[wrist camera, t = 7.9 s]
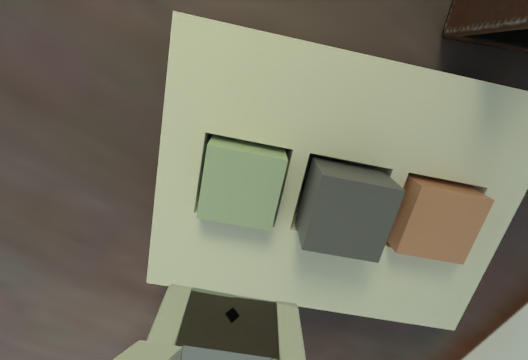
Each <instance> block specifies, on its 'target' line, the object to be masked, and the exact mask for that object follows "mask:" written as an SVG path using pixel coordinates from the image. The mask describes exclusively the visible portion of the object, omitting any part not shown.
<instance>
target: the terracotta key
mask: <svg viewBox="0 0 528 360" xmlns="http://www.w3.org/2000/svg"><path fill="white" fill-rule="evenodd" d="M403 189H404V190H405V191H406V192H405V195H404V197H403V200H402V202H401V205H400V208H399V210H398V213H397V216H396V218H395V221H394V223H393V226H392V229H391V231H390V234H389V237H388V239H387V241H388V243H389V244H390V246H391V247H392V248H393V250H394V251H395V252H396V253H399V254H405V255H411V256H416V257H422V258H428V259H434V260H439V261H445V262H451V263H457V264H462V265H463V264H464V262H465V260H466V258H467V256H468V254H469V252H470V250H471V248H472V246H473V244H474V242H475V240H476V238H477V236H478V234H479V232H480V229H481V227H482V225H483V223H484V221H485V219H486V217H487V215H488V213H489V211H490V209H491V207H492V205H493V203H494V201H495V200H493V199H492V198H490V197H488V196H486V195H485V194H483V193H481V192H480V191H478V190H476V189H475V188H473V187H471V186H469V185H468V184H465V183H460V182H455V181H450V180H445V179H439V178H434V177H429V176H424V175H419V174H414V173H409V174H408V176H407V179H406V182H405V184H404V187H403Z"/></svg>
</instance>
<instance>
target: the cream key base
mask: <svg viewBox="0 0 528 360" xmlns="http://www.w3.org/2000/svg"><path fill="white" fill-rule="evenodd" d="M213 134H216V135H221V136H226V137H231V138H236V139H241V140H246V141H251V142H256V143H261V144H266V145H272V146H277V147H282V148H285V151H286V155H287V158H288V163H287V167H286V172H285V176H284V180H283V184H282V188H281V192H280V197H279V201H278V205H277V209H276V213H275V218H274V222H273V226H272V230H271V231H267V230H261V229H255V228H250V227H244V226H238V225H232V224H227V223H221V222H215V221H209V220H204V219H198V218H196V216H197V209H198V202H199V196H200V189H201V182H202V175H203V169H204V162H205V155H206V149H207V144H208V142H209V141H210V139H211V138H212V136H213ZM312 157H315V158H321V159H326V160H331V161H336V162H341V163H346V164H351V165H356V166H361V167H367V168H372V169H377V170H382V171H384V172H385V173H386V174H387V175H388V176H389V177H390V178H392V179H393V180H394V181H395V182H396V183H397V184H398V185H400V186H401V187H402V188H403V187H404V184H405V182H406V179H407V176H408V174H409V173H414V174H419V175H424V176H429V177H434V178H439V179H445V180H450V181H455V182H460V183H465V184H468V185H469V186H471V187H473V188H475V189H476V190H478V191H480V192H481V193H483V194H485V195H486V196H488V197H490V198H492V199H493V200H495V201H494V203H493V205H492V207H491V209H490V211H489V213H488V215H487V217H486V219H485V221H484V223H483V225H482V227H481V229H480V232H479V234H478V236H477V238H476V240H475V242H474V244H473V246H472V248H471V250H470V252H469V254H468V256H467V258H466V260H465V262H464V264H463V265H462V264H457V263H451V262H445V261H439V260H434V259H428V258H422V257H416V256H411V255H405V254H399V253H396V252H395V251H394V250H393V248H392V247H391V246H390V244H389V243H388V241H387V242H386V244H385V247H384V250H383V252H382V255H381V258H380V260H379V263H376V262H370V261H364V260H358V259H353V258H347V257H341V256H335V255H329V254H323V253H317V252H311V251H306V250H302V248H301V244H300V240H299V235H298V231H297V227H296V222H295V221H296V217H297V214H298V210H299V206H300V202H301V199H302V195H303V191H304V187H305V183H306V180H307V176H308V172H309V168H310V165H311V161H312ZM527 189H528V91H525V90H521V89H516V88H512V87H508V86H503V85H499V84H494V83H490V82H485V81H481V80H477V79H472V78H468V77H463V76H459V75H455V74H450V73H446V72H441V71H437V70H432V69H428V68H424V67H419V66H415V65H410V64H406V63H401V62H397V61H393V60H388V59H384V58H379V57H375V56H370V55H366V54H362V53H357V52H353V51H348V50H344V49H340V48H335V47H331V46H326V45H322V44H317V43H313V42H309V41H304V40H300V39H295V38H291V37H286V36H282V35H278V34H273V33H269V32H264V31H260V30H255V29H251V28H247V27H242V26H238V25H233V24H229V23H225V22H220V21H216V20H211V19H207V18H202V17H198V16H194V15H189V14H185V13H180V12H176V11H173V16H172V26H171V37H170V47H169V57H168V67H167V77H166V88H165V98H164V108H163V118H162V128H161V139H160V149H159V159H158V169H157V180H156V190H155V200H154V210H153V220H152V231H151V241H150V251H149V261H148V271H147V282H146V283H151V284H157V285H164V286H170V285H171V284H175V285H181V286H186V287H191V288H193V287H194V288H199V289H205V290H210V291H216V292H221V293H227V294H232V295H238V296H245V297H251V298H258V299H265V300H271V301H281V302H289V303H296V305H297V306H299V307H305V308H312V309H318V310H325V311H331V312H338V313H344V314H351V315H357V316H363V317H370V318H376V319H383V320H389V321H396V322H402V323H409V324H415V325H421V326H428V327H434V328H441V329H447V330H455V329H456V327H457V325H458V323H459V321H460V319H461V317H462V315H463V313H464V311H465V309H466V307H467V305H468V303H469V301H470V300H471V298H472V296H473V294H474V292H475V290H476V288H477V286H478V284H479V282H480V280H481V278H482V276H483V274H484V272H485V270H486V269H487V267H488V265H489V263H490V261H491V259H492V257H493V255H494V253H495V251H496V249H497V247H498V245H499V243H500V241H501V240H502V238H503V236H504V234H505V232H506V230H507V228H508V226H509V224H510V222H511V220H512V218H513V216H514V214H515V212H516V210H517V209H518V207H519V205H520V203H521V201H522V199H523V197H524V195H525V193H526V191H527Z"/></svg>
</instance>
